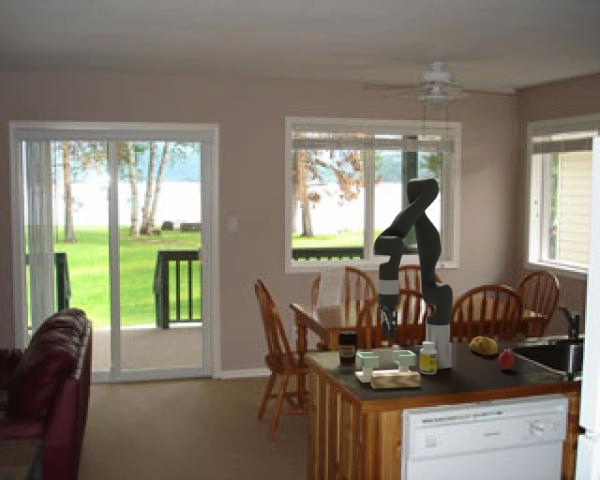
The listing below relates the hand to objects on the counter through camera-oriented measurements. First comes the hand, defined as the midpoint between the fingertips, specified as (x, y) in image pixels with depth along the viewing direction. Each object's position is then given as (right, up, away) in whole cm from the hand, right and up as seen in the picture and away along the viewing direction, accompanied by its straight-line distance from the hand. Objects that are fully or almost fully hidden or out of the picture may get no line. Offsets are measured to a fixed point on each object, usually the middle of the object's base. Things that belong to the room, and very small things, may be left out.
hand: (388, 336), depth 232 cm
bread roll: (+47, -14, +47) cm, 68 cm away
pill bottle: (+18, -16, +16) cm, 29 cm away
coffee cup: (-12, -16, +29) cm, 35 cm away
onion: (+48, -16, +20) cm, 55 cm away
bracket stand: (0, -17, +10) cm, 19 cm away
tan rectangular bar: (+2, -18, -1) cm, 18 cm away
